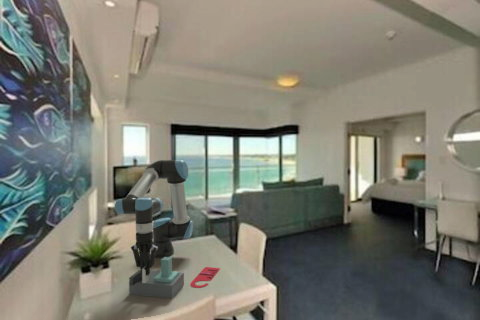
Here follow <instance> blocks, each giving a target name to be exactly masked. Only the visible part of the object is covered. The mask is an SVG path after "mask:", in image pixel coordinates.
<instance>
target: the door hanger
mask: <svg viewBox="0 0 480 320" xmlns="http://www.w3.org/2000/svg"><path fill="white" fill-rule="evenodd" d="M220 270H221V269H220V268H219V267H212V266H210V267H209V266H205V267H204V268H203V269H202V270H201V271H200V272H199V273H198V274H197V275H196V277H195V278H194V279H193V280H192V281H191V282H190V287H191V288H194V289H199V288H200V289H201V288H205V287H208V286H209V283H204V284H200V285H199V284H198V285H197V284H196V283H197V282H211V281H212V280H213V279H214V278H215V276H216V274H218V273H219V271H220Z"/></svg>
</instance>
